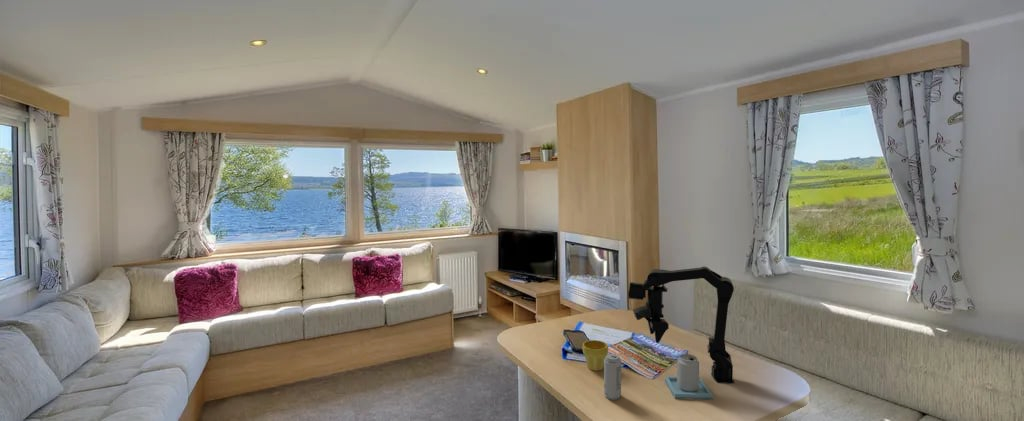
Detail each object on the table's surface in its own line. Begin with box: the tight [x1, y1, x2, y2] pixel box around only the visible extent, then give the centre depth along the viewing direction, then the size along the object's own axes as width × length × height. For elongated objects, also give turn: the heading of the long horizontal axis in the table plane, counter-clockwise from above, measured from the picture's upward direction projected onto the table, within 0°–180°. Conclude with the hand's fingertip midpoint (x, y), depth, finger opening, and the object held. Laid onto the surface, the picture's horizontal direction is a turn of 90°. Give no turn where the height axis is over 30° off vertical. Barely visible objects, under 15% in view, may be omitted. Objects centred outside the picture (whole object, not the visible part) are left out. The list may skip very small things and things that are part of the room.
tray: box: [664, 375, 714, 400], centre depth 158 cm, size 13×13×2 cm
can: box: [676, 353, 700, 392], centre depth 158 cm, size 8×8×12 cm
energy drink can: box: [603, 353, 622, 401], centre depth 154 cm, size 6×6×15 cm
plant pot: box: [582, 339, 609, 372], centre depth 177 cm, size 10×10×10 cm
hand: (654, 338), depth 175 cm, fingers open, 9 cm apart
